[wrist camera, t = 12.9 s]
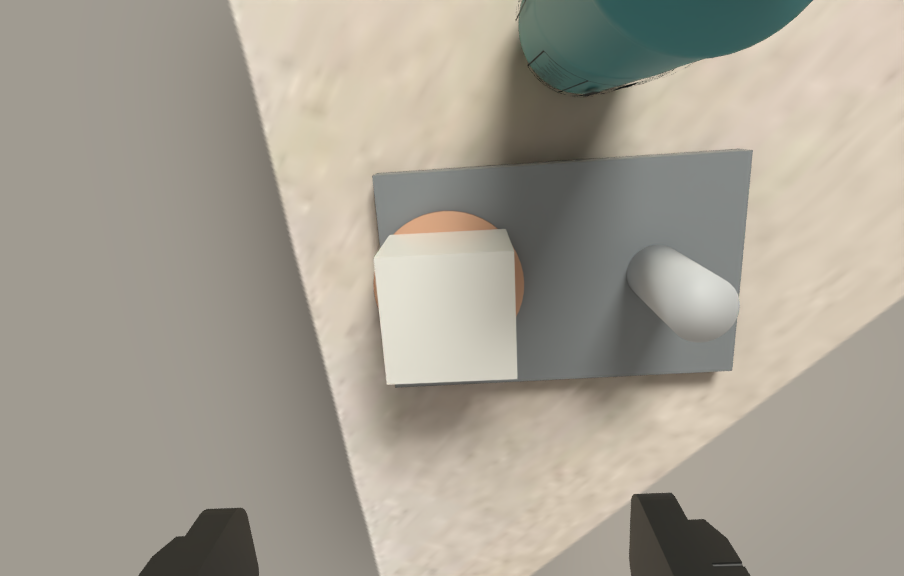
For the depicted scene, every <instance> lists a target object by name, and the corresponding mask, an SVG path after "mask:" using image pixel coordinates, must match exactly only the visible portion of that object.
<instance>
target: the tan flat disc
mask: <svg viewBox="0 0 904 576" xmlns="http://www.w3.org/2000/svg"><path fill="white" fill-rule="evenodd" d="M491 229H498V228H497V227H495V226H494V225H493V224H491V223H490V222H488V221H486V220H485V219H483V218H481V217H478V216H476V215H473V214H470V213H466V212H461V211H436V212H431V213H427V214H424V215H421V216H419V217H416V218H414V219H413V220H411V221H409V222H407V223H406V224H404V225H403V226H402V227H401V228H399V229H398V230H397V231H396V232H395V233H394V234H393V235H398V234H417V233H435V232H454V231H473V230H491ZM512 246H513V245H512ZM513 249H514V247H513ZM514 263H515V302H516V316H517V314H518V312H519V310H520V306H521V303H522V299H523V294H524V276H523V270H522V266H521V263H520V260H519V258H518V255H517V252H516V251H515V249H514ZM374 294H375V300H376V303H377V306H378V296H377V287H376V277H375V272H374ZM378 309H379V306H378Z"/></svg>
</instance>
